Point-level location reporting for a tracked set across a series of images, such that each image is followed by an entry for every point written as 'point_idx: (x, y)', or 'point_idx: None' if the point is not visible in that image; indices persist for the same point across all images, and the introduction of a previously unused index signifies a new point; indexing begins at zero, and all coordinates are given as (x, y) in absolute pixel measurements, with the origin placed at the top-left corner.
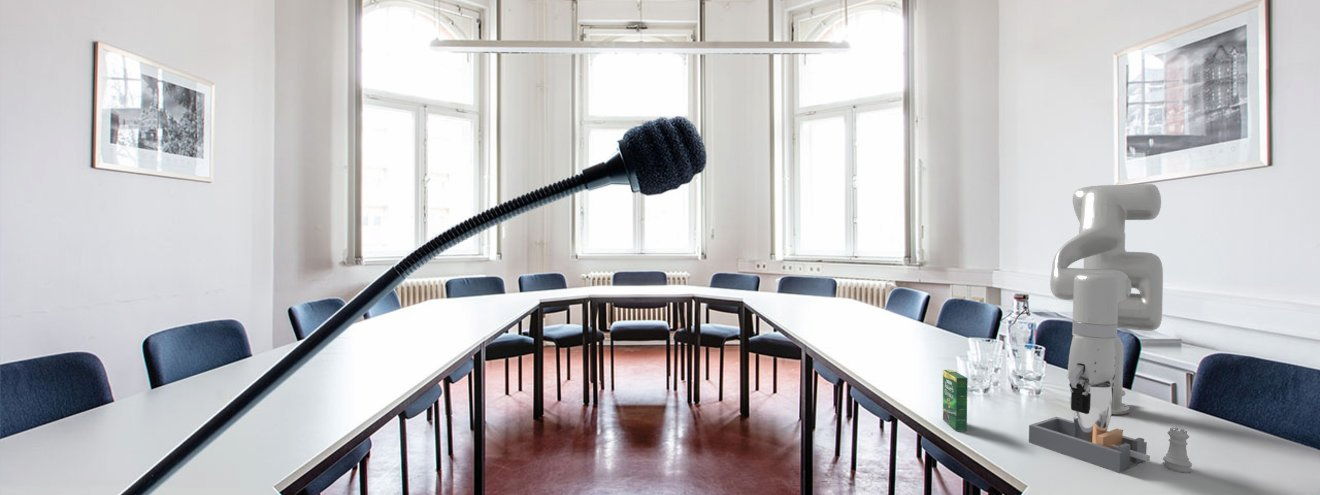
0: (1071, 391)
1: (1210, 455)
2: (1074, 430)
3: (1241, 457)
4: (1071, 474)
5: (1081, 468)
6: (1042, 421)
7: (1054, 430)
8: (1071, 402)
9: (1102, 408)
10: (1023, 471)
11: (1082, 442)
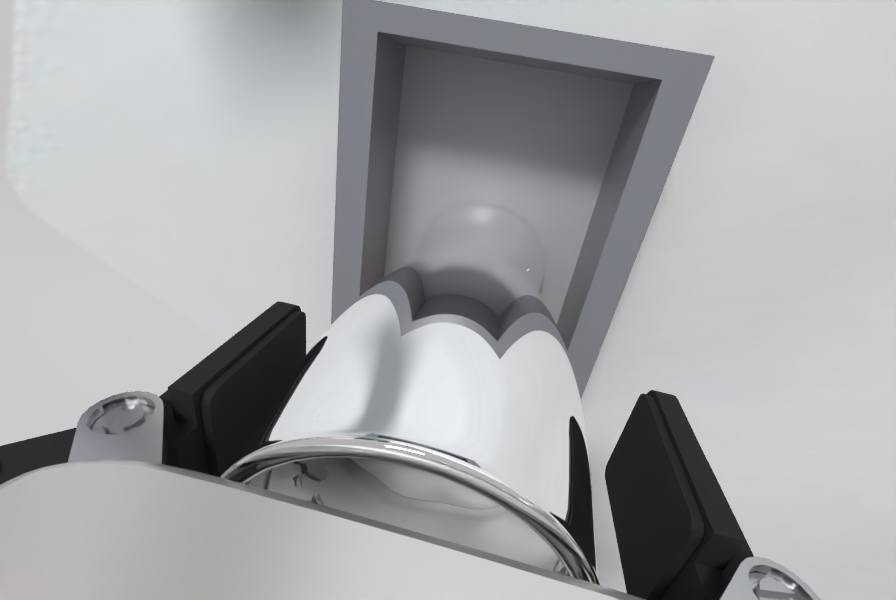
0: (112, 404)
1: (792, 536)
2: (612, 187)
3: (837, 589)
4: (205, 265)
5: (285, 276)
6: (501, 28)
7: (609, 77)
8: (246, 328)
9: (356, 472)
10: (66, 144)
11: (334, 290)
